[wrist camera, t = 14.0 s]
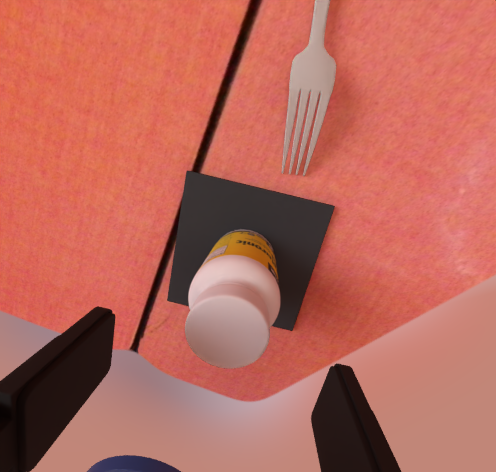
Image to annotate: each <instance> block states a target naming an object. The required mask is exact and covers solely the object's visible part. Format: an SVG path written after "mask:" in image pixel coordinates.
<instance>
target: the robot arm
mask: <svg viewBox="0 0 496 472" xmlns="http://www.w3.org/2000/svg"><path fill="white" fill-rule="evenodd" d="M114 327H115V314H112V310H111V309H106V308H102V307H95V308H94V309H93V310H91V311H90V312H89V313H88V314H86V315H85V316H84V317H83V318H81V319H80V320H79V321H78V322H76V323H75V324H74V325H73V326H71V327H70V328H69V329H68V330H66V331H65V332H64V333H63V334H61V335H59V336H57V337H56V338H54V339H53V340H52V341H51V342H49V343H48V344H47V345H45V346H44V347H43V348H42V349H40V350H39V351H38V352H37V353H35V354H34V355H33V356H32V357H30V358H29V359H28V360H26V362H24V363H23V364H21V365H20V366H19V367H18V368H16V369H15V370H14V371H13V372H11V373H10V374H9V375H8V376H6V377H5V378H4V379H3V380H1V381H0V472H30V471H31V470H32V469H33V468H34V467H35V466H36V465H37V463H38V462H39V461H40V460H41V458H42V457H43V456H44V454H45V453H46V452H47V451H48V449H49V448H50V447H51V445H52V444H53V443H54V441H55V440H56V439H57V438H58V437H59V435H60V434H61V433H62V431H63V430H64V429H65V428H66V426H67V425H68V424H69V422H70V421H71V420H72V418H73V417H74V416H75V415H76V413H77V412H78V411H79V409H80V408H81V407H82V405H83V404H84V403H85V402H86V400H87V399H88V398H89V397H90V395H91V394H92V393H93V391H94V390H95V389H96V388H97V386H98V385H99V383H100V382H101V381H102V380H103V378H104V377H105V376H106V374H107V373H108V371H109V369H110V366H111V358H112V347H113V337H114ZM311 421H312V428H313V432H314V437H315V442H316V447H317V453H318V458H319V463H320V468H321V472H401V470H400V468H399V466H398V463H397V461H396V459H395V457H394V455H393V453H392V451H391V449H390V447H389V444H388V442H387V440H386V438H385V436H384V434H383V432H382V429H381V427H380V425H379V423H378V421H377V419H376V417H375V415H374V413H373V411H372V410H371V408H370V406H369V404H368V402H367V400H366V397H365V395H364V393H363V391H362V389H361V387H360V384H359V382H358V380H357V378H356V377H355V374H354V372H353V369H352V368H351V367H350V366H346V365H341V364H335V366H331V367H330V369H329V372H328V374H327V377H326V380H325V382H324V384H323V387H322V389H321V392H320V394H319V397H318V399H317V402H316V405H315V407H314V410H313V412H312V416H311Z"/></svg>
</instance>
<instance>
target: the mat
mask: <svg viewBox="0 0 496 472" xmlns="http://www.w3.org/2000/svg"><path fill="white" fill-rule="evenodd" d="M334 207H335V206H333V205H328V204H324V203H320V202H316V201H312V200H308V199H304V198H299V197H295V196H291V195H287V194H283V193H279V192H275V191H270V190H266V189H262V188H258V187H254V186H250V185H246V184H242V183H237V182H233V181H229V180H225V179H221V178H217V177H213V176H208V175H204V174H200V173H196V172H192V171H187V172H186V179H185V186H184V192H183V199H182V206H181V212H180V219H179V226H178V232H177V239H176V246H175V252H174V259H173V266H172V272H171V279H170V286H169V292H168V299H167V301H170V302H174V303H178V304H183V305H187V306H189V302H188V295H189V289H190V285H191V283H192V281H193V278H194V276H195V275H196V273H197V272H198V270H199V269H200V267H201V266H202V264H203V263H204V261H205V259H206V258H207V256H208V255H209V253H210V252H211V250H212V249H213V247H214V246H215V244H216V243H217V242H218V241H219V240H220V238H222V237H223V236H224V235H226V234H227V233H229V232H232V231H235V230H251V231H254V232H256V233H258V234H260V235H262V236H263V237H264V238H265V239H266V240H267V241H268V242H269V243H270V245H271V246H272V248H273V251H274V254H275V258H276V266H277V274H278V282H279V288H280V309H279V313H278V316H277V318H276V320H275V322H274V323H273V325H272V326H274V327H278V328H282V329H286V330H290V331H292V330H293V328H294V325H295V322H296V319H297V316H298V313H299V310H300V307H301V304H302V301H303V298H304V295H305V292H306V289H307V286H308V284H309V281H310V278H311V275H312V272H313V269H314V266H315V263H316V260H317V257H318V254H319V251H320V248H321V245H322V242H323V240H324V237H325V234H326V231H327V228H328V225H329V222H330V219H331V216H332V213H333V210H334Z"/></svg>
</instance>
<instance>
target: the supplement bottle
mask: <svg viewBox="0 0 496 472" xmlns="http://www.w3.org/2000/svg"><path fill="white" fill-rule="evenodd" d="M188 302H189V308H190V312H189V314H188V316H187V319H186V323H185V335H186V339H187V342H188V344H189V346H190V348H191V349H192V350H193V352H194V353H195V354H196V355H197V356H198V357H199V358H200V359H202V360H203V361H205V362H207V363H209V364H211V365H213V366H216V367H220V368H229V369H233V368H240V367H244V366H247V365H249V364H251V363H253V362H255V361H256V360H257V359H258V358H260V357H261V355H262V354H263V353H264V351H265V350H266V348H267V346H268V343H269V338H270V327H271V326H272V325H273V323H274V322H275V320H276V318H277V316H278V313H279V309H280V288H279V282H278V274H277V266H276V258H275V254H274V251H273V248H272V246H271V245H270V243H269V242H268V241H267V240H266V239H265V238H264V237H263V236H262V235H260V234H258V233H256V232H254V231H251V230H235V231H232V232H229V233H227V234H226V235H224V236H223V237H222V238H220V240H219V241H218V242H217V243H216V244H215V246H214V247H213V249H212V250H211V252H210V253H209V255H208V256H207V258H206V259H205V261H204V263H203V264H202V266H201V267H200V269H199V270H198V272H197V273H196V275H195V276H194V278H193V281H192V283H191V285H190V289H189V295H188Z"/></svg>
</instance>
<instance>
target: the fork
mask: <svg viewBox="0 0 496 472" xmlns="http://www.w3.org/2000/svg"><path fill="white" fill-rule="evenodd" d="M329 5H330V0H315V5H314V13H313V20H312V27H311V34H310V39H309V45H308V46H307V47H306V48H305V49H304V51H303V52H301V53H299V54H298V55H296V56H295V58H294V59H293V61H292V68H291V74H290V84H289V100H288V109H287V119H286V129H285V139H284V150H283V162H282V173H283V172H284V168H285V163H286V158H287V153H288V149H289V144H290V139H291V134H292V129H293V124H294V119H295V114H296V109H297V103H298V98H299V93H300V90H301V95H300V102H299V109H298V116H297V122H296V129H295V135H294V141H293V148H292V155H291V162H290V170H289V174H291V171H292V167H293V163H294V159H295V155H296V151H297V147H298V143H299V139H300V134H301V130H302V125H303V121H304V116H305V111H306V106H307V102H308V97H309V93H310V92H311V95H310V101H309V106H308V112H307V117H306V122H305V127H304V132H303V137H302V142H301V147H300V153H299V158H298V164H297V169H296V175H297V174H298V171H299V168H300V164H301V161H302V158H303V154H304V151H305V148H306V144H307V140H308V136H309V133H310V129H311V125H312V121H313V117H314V113H315V109H316V105H317V101H318V97H319V94H320V93H321V95H320V100H319V105H318V109H317V114H316V119H315V123H314V128H313V132H312V137H311V142H310V146H309V151H308V155H307V159H306V164H305V168H304V173H303V176H305V173H306V171H307V168H308V165H309V162H310V160H311V157H312V154H313V151H314V149H315V146H316V142H317V139H318V136H319V133H320V130H321V127H322V124H323V121H324V117H325V114H326V110H327V107H328V103H329V100H330V96H331V94H332V91H333V86H334V82H335V75H336V63H335V61H334V59H333V58H332V57H331V56H330V55H329V54H328V53H327V51H326V49H325V48H324V35H325V28H326V21H327V15H328V10H329Z"/></svg>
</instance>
